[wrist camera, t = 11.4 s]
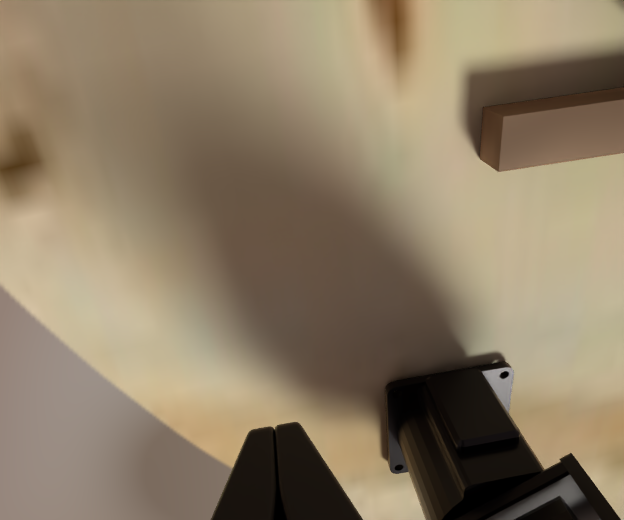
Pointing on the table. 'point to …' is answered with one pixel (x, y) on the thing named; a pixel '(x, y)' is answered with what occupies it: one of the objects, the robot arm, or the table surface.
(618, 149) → the brown u-shaped frame
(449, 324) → the table surface
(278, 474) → the robot arm
